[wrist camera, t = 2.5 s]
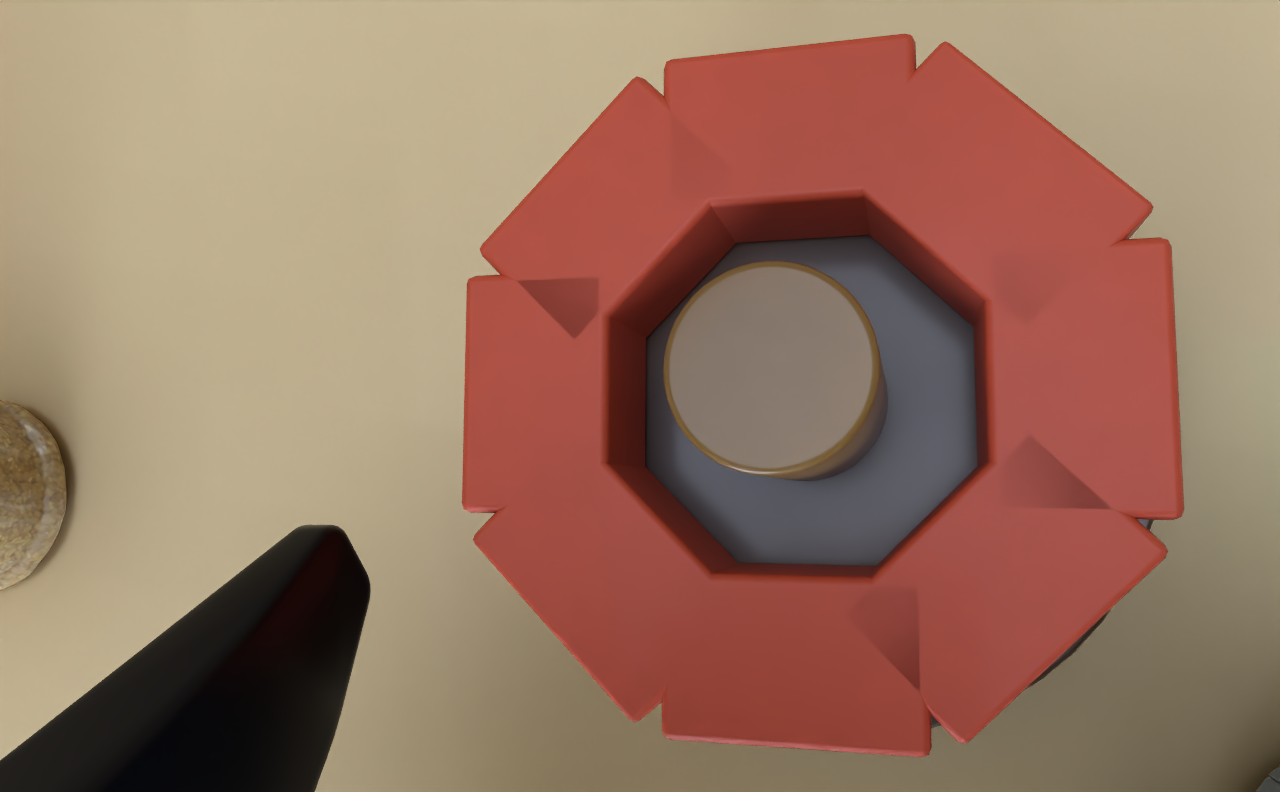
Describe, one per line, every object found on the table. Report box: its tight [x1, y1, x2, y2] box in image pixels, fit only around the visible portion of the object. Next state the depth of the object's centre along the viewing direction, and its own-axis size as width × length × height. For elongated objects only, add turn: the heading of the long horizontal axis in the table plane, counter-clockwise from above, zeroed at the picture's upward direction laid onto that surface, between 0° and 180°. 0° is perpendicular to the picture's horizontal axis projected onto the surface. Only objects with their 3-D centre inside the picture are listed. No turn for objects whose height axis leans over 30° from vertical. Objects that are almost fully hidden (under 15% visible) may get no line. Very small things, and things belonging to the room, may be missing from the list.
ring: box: [462, 34, 1184, 757], centre depth 10 cm, size 7×7×2 cm
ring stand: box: [645, 235, 1153, 728], centre depth 13 cm, size 10×10×11 cm
